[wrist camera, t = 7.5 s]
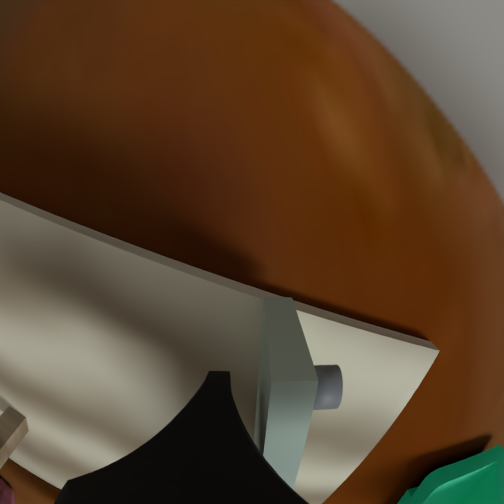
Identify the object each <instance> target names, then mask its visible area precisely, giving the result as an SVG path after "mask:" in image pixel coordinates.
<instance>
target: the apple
mask: <svg viewBox="0 0 504 504" xmlns="http://www.w3.org/2000/svg"><path fill="white" fill-rule="evenodd" d="M0 504H15V498H14V494H13V491H12V489H11V487H10V486H9V485H8V484H7V483H6V482H5V481H4V480H3V479H2V478H0Z"/></svg>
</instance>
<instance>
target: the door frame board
mask: <svg viewBox="0 0 504 504" xmlns="http://www.w3.org/2000/svg"><path fill="white" fill-rule="evenodd" d="M264 297H282V296H279V295H276V294H273V293H270V292H267V291H264V290H261V289H258V288H255V287H252V286H249V285H246V284H243V283H240V282H237V281H234V280H231V279H228V278H225V277H222V276H219V275H216V274H213V273H210V272H207V271H205V270H202V269H199V268H196V267H193V266H190V265H187V264H185V263H182V262H179V261H176V260H173V259H171V258H168V257H165V256H162V255H160V254H157V253H154V252H151V251H149V250H146V249H143V248H140V247H138V246H135V245H132V244H130V243H127V242H124V241H121V240H119V239H116V238H113V237H111V236H108V235H106V234H103V233H100V232H98V231H95V230H92V229H90V228H87V227H85V226H82V225H80V224H77V223H74V222H72V221H69V220H67V219H64V218H62V217H59V216H57V215H54V214H52V213H49V212H47V211H44V210H42V209H39V208H37V207H34V206H32V205H29V204H27V203H25V202H22V201H20V200H17V199H15V198H12V197H10V196H8V195H5V194H3V193H1V192H0V469H1V467H2V466H3V465H4V463H5V462H6V461H7V459H8V458H10V459H11V460H13V461H14V462H16V463H17V464H19V465H20V466H22V467H23V468H25V469H27V470H28V471H30V472H31V473H33V474H35V475H36V476H38V477H40V478H41V479H43V480H45V481H46V482H48V483H50V484H52V485H54V486H55V487H57V488H59V489H62V488H63V486H64V485H65V483H66V482H67V480H70V479H73V478H76V477H79V476H82V475H85V474H87V473H90V472H93V471H96V470H98V469H100V468H103V467H105V466H107V465H109V464H111V463H113V462H115V461H117V460H119V459H121V458H122V457H124V456H126V455H128V454H129V453H131V452H133V451H134V450H136V449H137V448H139V447H140V446H141V445H143V444H144V443H146V442H147V441H148V440H150V439H151V438H152V437H153V436H155V435H156V434H157V433H158V432H159V431H161V430H162V429H163V428H164V427H165V426H166V425H167V424H168V423H169V422H170V421H171V420H172V419H173V418H174V417H175V416H176V415H177V414H178V413H179V412H180V411H181V410H182V409H183V408H184V407H185V405H186V404H187V403H188V402H189V401H190V399H191V398H192V397H193V396H194V394H195V393H196V392H197V390H198V389H199V388H200V386H201V385H202V384H203V382H204V381H205V379H206V376H207V374H208V372H209V371H230V377H231V391H232V395H233V399H234V402H235V404H236V407H237V410H238V412H239V415H240V417H241V419H242V421H243V423H244V425H245V428H246V429H247V431H248V433H249V435H250V437H251V438H252V440H253V442H254V429H255V416H256V403H257V390H258V376H259V362H260V348H261V333H262V317H263V302H264ZM293 302H294V305H295V308H296V311H297V314H298V317H299V320H300V323H301V326H302V330H303V333H304V336H305V339H306V342H307V345H308V348H309V351H310V355H311V358H312V361H313V364H314V365H338V366H339V367H340V369H341V372H342V378H343V394H342V400H341V403H340V406H339V407H338V408H337V409H327V410H313V411H312V416H311V421H310V425H309V429H308V434H307V438H306V442H305V446H304V450H303V454H302V458H301V462H300V466H299V470H298V474H297V477H296V481H295V485H294V488H293V490H294V491H295V492H296V493H297V494H299V495H300V496H301V497H302V498H303V499H304V500H306V501H307V502H308V503H309V504H322V503H323V502H324V501H325V500H326V499H327V498H328V497H329V496H330V495H331V494H332V493H333V492H334V491H335V490H336V489H337V488H338V487H339V486H340V485H341V484H342V483H343V482H344V481H345V480H346V478H347V477H348V476H349V475H350V474H351V473H352V472H353V471H354V470H355V469H356V468H357V466H358V465H359V464H360V463H361V462H362V461H363V460H364V458H365V457H366V456H367V455H368V454H369V453H370V451H371V450H372V449H373V448H374V447H375V445H376V444H377V443H378V442H379V440H380V439H381V438H382V437H383V435H384V434H385V433H386V431H387V430H388V429H389V427H390V426H391V425H392V423H393V422H394V421H395V419H396V418H397V417H398V415H399V414H400V413H401V411H402V410H403V408H404V407H405V405H406V404H407V403H408V401H409V400H410V398H411V397H412V395H413V394H414V392H415V391H416V389H417V388H418V386H419V384H420V383H421V381H422V380H423V378H424V377H425V375H426V373H427V372H428V370H429V368H430V367H431V365H432V363H433V362H434V360H435V358H436V356H437V355H438V353H439V350H438V349H437V348H436V347H435V346H434V345H433V344H432V343H431V342H430V341H427V340H424V339H420V338H416V337H413V336H409V335H406V334H402V333H399V332H396V331H392V330H389V329H385V328H382V327H378V326H375V325H372V324H368V323H365V322H362V321H358V320H355V319H352V318H349V317H345V316H342V315H339V314H335V313H332V312H329V311H326V310H323V309H319V308H316V307H313V306H310V305H307V304H304V303H300V302H297V301H294V300H293Z"/></svg>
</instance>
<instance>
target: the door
mask: <svg viewBox="0 0 504 504" xmlns="http://www.w3.org/2000/svg"><path fill="white" fill-rule="evenodd" d="M342 394H343V378H342V372H341V369H340V367H339V366H338V365H314V364H313V361H312V358H311V355H310V351H309V348H308V345H307V342H306V339H305V336H304V333H303V330H302V326H301V323H300V320H299V317H298V314H297V311H296V308H295V305H294V302H293V299H292V297H264V302H263V317H262V333H261V348H260V362H259V376H258V390H257V403H256V416H255V429H254V443H255V445H256V446H257V448H258V449H259V451H260V452H261V454H262V455H263V456H264V458H265V459H266V460H267V462H268V463H269V464H270V465H271V466H272V468H273V469H274V470H275V471H276V472H277V474H278V475H279V476H280V477H281V478H282V479H283V480H284V481H285V482H286V483H287V484H288V485H289V486H290V487H291V488H292V489H293V488H294V485H295V481H296V477H297V474H298V470H299V466H300V462H301V458H302V454H303V450H304V446H305V442H306V438H307V434H308V429H309V425H310V421H311V416H312V411H313V410H327V409H337V408H338V407H339V406H340V403H341V400H342Z"/></svg>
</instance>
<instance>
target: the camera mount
mask: <svg viewBox="0 0 504 504" xmlns="http://www.w3.org/2000/svg"><path fill="white" fill-rule="evenodd" d="M397 504H504V449H503V447H502V446H501V445H498V446H496V447H493V448H491V449H489V450H487V451H484V452H482V453H479V454H477V455H474V456H472V457H469V458H467V459H464V460H461V461H459V462H456V463H453V464H450V465H447V466H444V467H441V468H438V469H436V470H435V471H433V472H431V473H430V474H429V475H428V476H426V477H425V479H424V480H423V481H422V483H421V484H420V486H418V487H415V488H411V489H408V490H407V491H406V492H405V494H404V495H403V496H402V498H401V499H400V501H399V502H398V503H397Z"/></svg>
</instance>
